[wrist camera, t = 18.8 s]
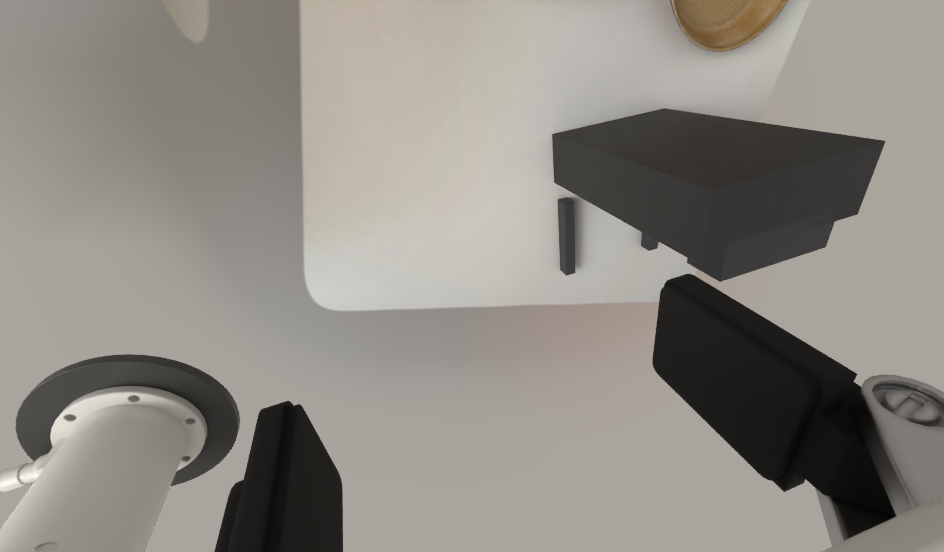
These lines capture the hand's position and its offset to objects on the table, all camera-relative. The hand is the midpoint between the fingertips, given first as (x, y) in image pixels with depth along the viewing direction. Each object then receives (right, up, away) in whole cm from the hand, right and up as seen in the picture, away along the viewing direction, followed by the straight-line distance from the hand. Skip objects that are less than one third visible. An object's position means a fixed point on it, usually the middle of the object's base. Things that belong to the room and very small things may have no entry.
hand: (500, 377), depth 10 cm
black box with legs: (+15, +12, +35) cm, 39 cm away
